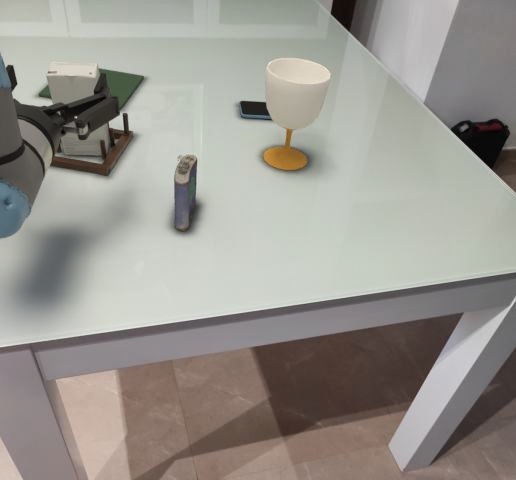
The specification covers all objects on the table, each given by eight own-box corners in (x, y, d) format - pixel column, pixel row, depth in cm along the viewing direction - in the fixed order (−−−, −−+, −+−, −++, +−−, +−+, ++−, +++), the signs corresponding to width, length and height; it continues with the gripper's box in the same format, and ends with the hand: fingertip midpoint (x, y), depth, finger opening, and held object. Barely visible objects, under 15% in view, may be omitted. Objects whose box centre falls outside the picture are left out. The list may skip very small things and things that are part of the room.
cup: (287, 180, 99) (302, 89, 86) (244, 155, 103) (252, 65, 91) (325, 162, 105) (344, 75, 92) (283, 139, 110) (295, 53, 97)
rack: (107, 175, 93) (104, 150, 89) (34, 163, 93) (27, 137, 90) (133, 135, 104) (131, 111, 100) (67, 124, 104) (63, 99, 100)
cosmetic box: (110, 142, 101) (101, 62, 90) (107, 158, 97) (97, 76, 86) (66, 140, 100) (51, 58, 89) (61, 156, 96) (45, 72, 85)
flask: (187, 232, 85) (188, 173, 77) (170, 229, 85) (168, 170, 77) (197, 202, 91) (199, 144, 83) (181, 199, 91) (181, 141, 83)
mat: (39, 96, 111) (38, 93, 110) (70, 66, 123) (70, 63, 122) (120, 110, 111) (120, 107, 110) (144, 78, 123) (143, 75, 122)
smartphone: (238, 99, 118) (302, 103, 120) (238, 103, 119) (301, 107, 121) (241, 114, 113) (307, 117, 116) (241, 118, 114) (306, 121, 116)
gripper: (-72, 166, 66) (-19, 96, 80) (126, 179, 68) (143, 109, 83) (-96, 107, 60) (-35, 43, 74) (120, 124, 63) (140, 59, 77)
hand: (59, 78), depth 78 cm, fingers open, 13 cm apart
